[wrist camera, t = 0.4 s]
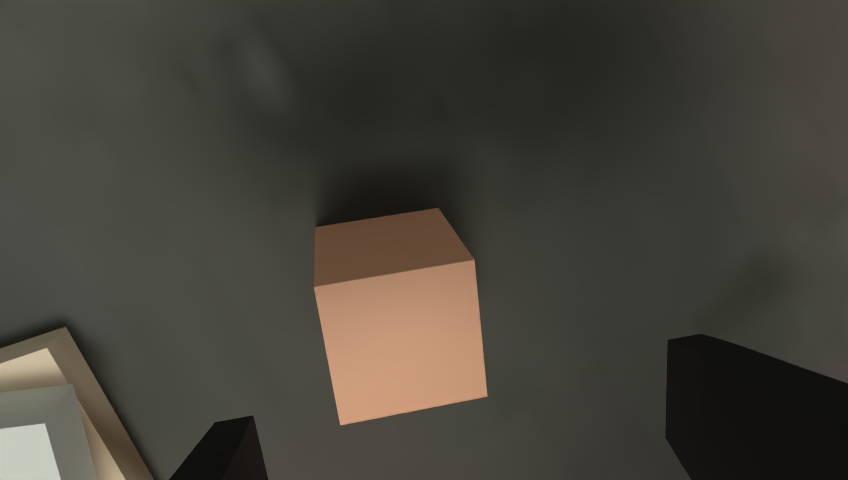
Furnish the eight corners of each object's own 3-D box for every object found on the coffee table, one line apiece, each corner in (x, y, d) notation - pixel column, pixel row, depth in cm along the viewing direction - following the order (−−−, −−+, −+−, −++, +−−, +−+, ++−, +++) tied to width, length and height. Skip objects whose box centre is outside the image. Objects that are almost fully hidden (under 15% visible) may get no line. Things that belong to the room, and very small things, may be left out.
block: (450, 317, 21) (487, 396, 17) (335, 337, 21) (340, 425, 16) (438, 207, 20) (474, 259, 15) (315, 226, 20) (314, 287, 15)
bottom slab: (166, 482, 22) (151, 523, 20) (-24, 549, 22) (-57, 597, 20) (72, 318, 20) (46, 347, 18) (-143, 390, 19) (-193, 428, 18)
